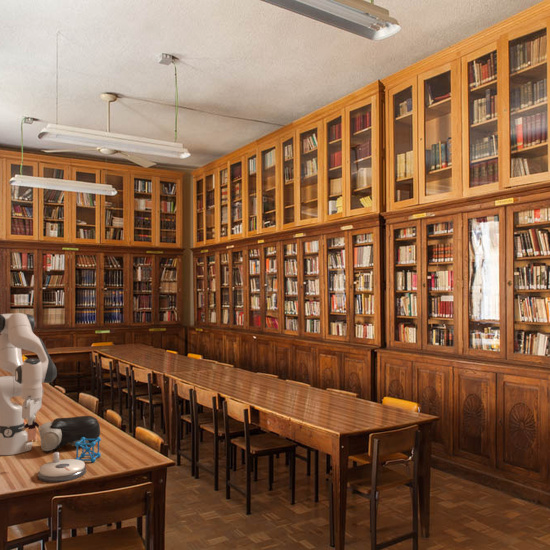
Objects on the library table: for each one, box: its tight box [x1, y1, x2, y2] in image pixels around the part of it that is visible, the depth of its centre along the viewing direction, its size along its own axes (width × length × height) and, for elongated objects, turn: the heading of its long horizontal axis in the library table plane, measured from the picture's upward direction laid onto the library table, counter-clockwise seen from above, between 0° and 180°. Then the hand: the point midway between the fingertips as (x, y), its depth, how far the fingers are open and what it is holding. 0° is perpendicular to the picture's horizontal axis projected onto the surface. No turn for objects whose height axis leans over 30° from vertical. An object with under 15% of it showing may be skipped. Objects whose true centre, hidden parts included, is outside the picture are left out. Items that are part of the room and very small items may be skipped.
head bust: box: [37, 415, 101, 454], centre depth 278 cm, size 22×17×30 cm
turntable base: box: [37, 465, 87, 483], centre depth 237 cm, size 20×20×2 cm
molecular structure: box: [74, 436, 102, 464], centre depth 257 cm, size 10×10×10 cm
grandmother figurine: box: [23, 415, 41, 443], centre depth 246 cm, size 8×4×13 cm, turn 125°
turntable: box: [39, 451, 86, 477], centre depth 237 cm, size 19×19×6 cm
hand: (31, 423), depth 246 cm, fingers closed on grandmother figurine, 3 cm apart
